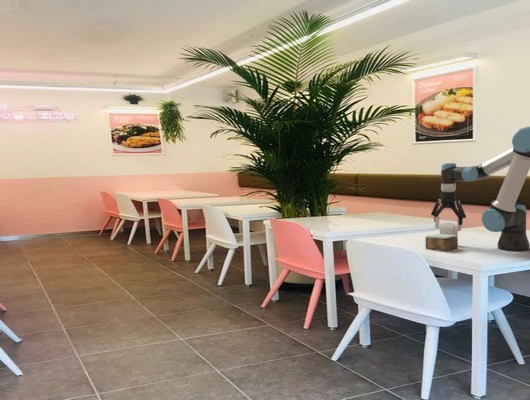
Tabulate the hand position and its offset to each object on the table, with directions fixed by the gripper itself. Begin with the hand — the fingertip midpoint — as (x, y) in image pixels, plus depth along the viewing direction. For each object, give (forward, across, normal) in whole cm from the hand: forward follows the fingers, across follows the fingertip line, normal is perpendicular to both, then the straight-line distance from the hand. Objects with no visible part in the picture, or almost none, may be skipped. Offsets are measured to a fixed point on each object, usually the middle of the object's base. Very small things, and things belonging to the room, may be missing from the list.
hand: (447, 229), depth 280 cm
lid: (+2, -4, +12) cm, 13 cm away
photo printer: (+9, -1, 0) cm, 9 cm away
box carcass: (+8, -5, +12) cm, 16 cm away
